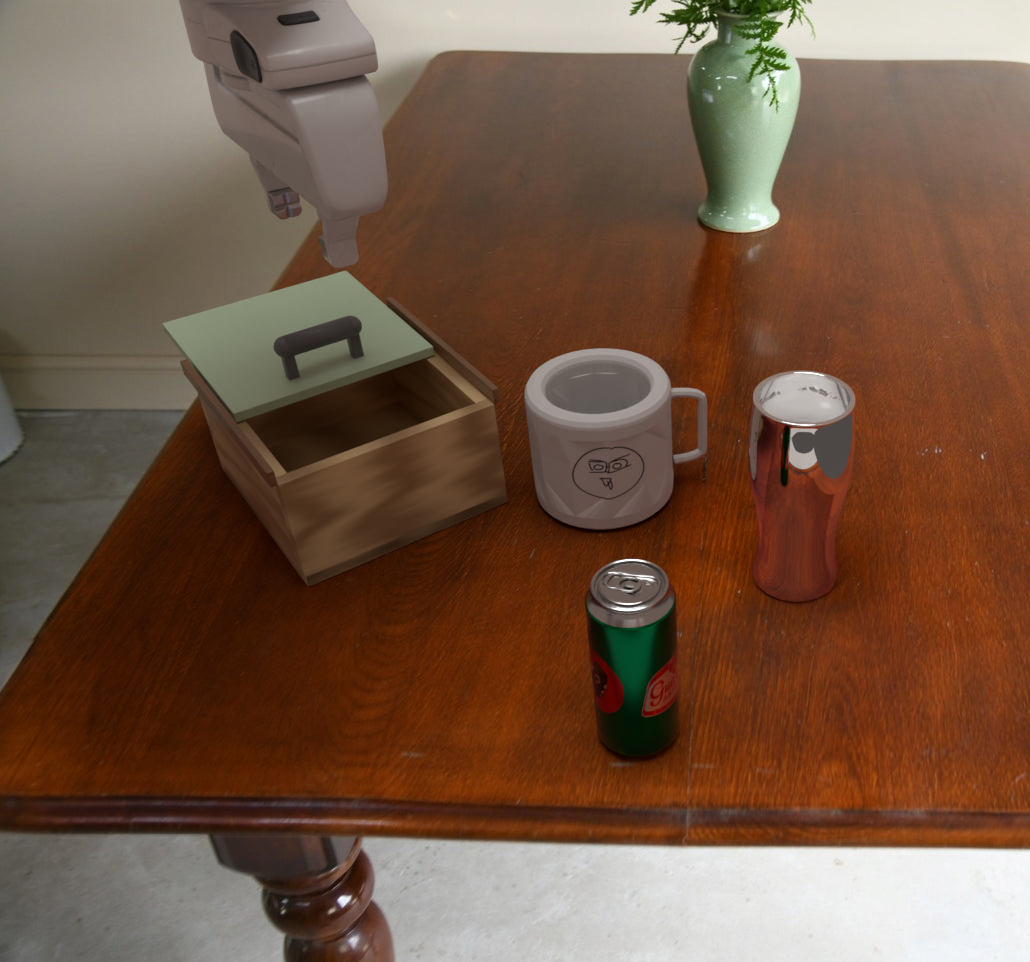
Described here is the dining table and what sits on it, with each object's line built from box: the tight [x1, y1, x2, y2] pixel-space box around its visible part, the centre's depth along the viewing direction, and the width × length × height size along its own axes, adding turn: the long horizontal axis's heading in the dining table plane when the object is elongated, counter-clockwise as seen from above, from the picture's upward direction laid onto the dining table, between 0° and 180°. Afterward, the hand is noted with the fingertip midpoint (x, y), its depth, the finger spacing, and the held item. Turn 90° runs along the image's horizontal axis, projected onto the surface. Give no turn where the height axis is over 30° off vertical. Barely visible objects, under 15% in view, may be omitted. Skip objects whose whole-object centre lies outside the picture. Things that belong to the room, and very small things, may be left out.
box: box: [179, 296, 509, 588], centre depth 86 cm, size 17×18×10 cm
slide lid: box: [161, 270, 435, 422], centre depth 88 cm, size 15×17×4 cm
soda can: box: [584, 558, 681, 757], centre depth 66 cm, size 5×5×12 cm
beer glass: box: [748, 370, 857, 603], centre depth 76 cm, size 7×7×15 cm
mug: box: [523, 347, 708, 531], centre depth 86 cm, size 14×11×10 cm
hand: (313, 237), depth 74 cm, fingers open, 8 cm apart
